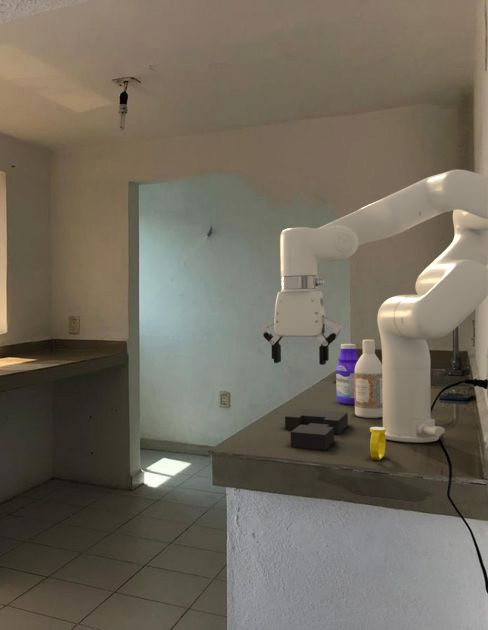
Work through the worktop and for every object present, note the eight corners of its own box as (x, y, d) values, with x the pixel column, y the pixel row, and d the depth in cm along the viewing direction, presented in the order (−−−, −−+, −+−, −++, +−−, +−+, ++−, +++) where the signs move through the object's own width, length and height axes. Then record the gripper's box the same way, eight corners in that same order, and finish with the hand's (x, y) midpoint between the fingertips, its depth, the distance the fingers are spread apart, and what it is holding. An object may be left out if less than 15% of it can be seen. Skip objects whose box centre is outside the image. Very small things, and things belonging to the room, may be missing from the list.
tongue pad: (336, 439, 144) (336, 425, 144) (325, 450, 134) (325, 434, 134) (303, 436, 148) (303, 422, 148) (290, 446, 138) (290, 431, 138)
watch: (374, 454, 130) (374, 424, 130) (389, 456, 128) (389, 426, 128) (366, 460, 125) (366, 429, 125) (381, 462, 123) (381, 431, 123)
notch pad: (347, 425, 159) (347, 412, 159) (338, 434, 149) (338, 420, 149) (297, 421, 166) (297, 408, 166) (285, 429, 156) (284, 416, 155)
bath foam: (349, 415, 171) (348, 340, 171) (365, 412, 175) (364, 338, 175) (373, 419, 166) (372, 341, 165) (389, 416, 169) (389, 339, 169)
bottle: (332, 402, 193) (331, 343, 193) (348, 401, 195) (347, 343, 194) (349, 406, 186) (349, 345, 186) (366, 404, 188) (365, 344, 188)
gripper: (344, 284, 140) (345, 363, 140) (264, 286, 150) (265, 360, 150) (337, 283, 134) (338, 366, 134) (254, 286, 143) (255, 363, 144)
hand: (299, 363), depth 142 cm, fingers open, 9 cm apart
